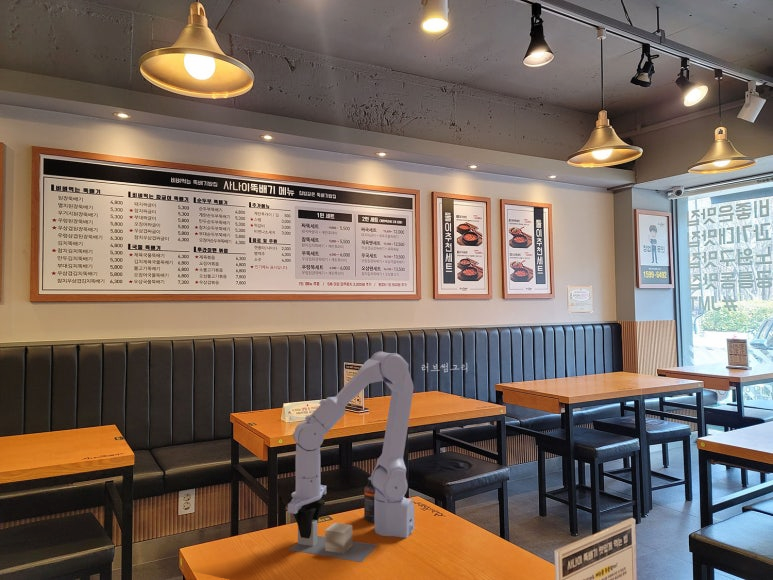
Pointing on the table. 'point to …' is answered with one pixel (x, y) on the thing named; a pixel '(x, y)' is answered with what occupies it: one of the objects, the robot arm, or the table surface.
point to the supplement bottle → (369, 502)
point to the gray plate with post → (318, 547)
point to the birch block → (338, 538)
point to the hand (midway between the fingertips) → (308, 535)
